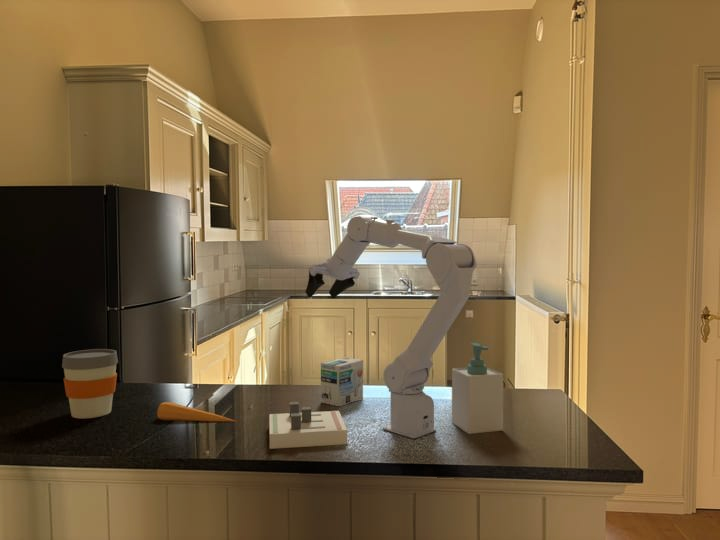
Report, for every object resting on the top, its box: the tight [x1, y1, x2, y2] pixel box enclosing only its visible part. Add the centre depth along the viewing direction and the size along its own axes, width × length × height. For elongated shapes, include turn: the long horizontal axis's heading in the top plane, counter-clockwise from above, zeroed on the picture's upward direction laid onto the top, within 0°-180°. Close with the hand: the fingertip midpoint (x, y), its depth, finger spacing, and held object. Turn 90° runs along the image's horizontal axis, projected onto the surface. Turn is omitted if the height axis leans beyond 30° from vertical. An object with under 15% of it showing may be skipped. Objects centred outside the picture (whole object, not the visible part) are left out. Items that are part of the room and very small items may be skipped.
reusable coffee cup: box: [61, 348, 119, 419], centre depth 138 cm, size 13×13×15 cm
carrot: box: [156, 401, 236, 422], centre depth 133 cm, size 20×4×4 cm, turn 83°
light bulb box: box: [320, 356, 364, 407], centre depth 149 cm, size 11×7×11 cm, turn 143°
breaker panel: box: [268, 401, 348, 450], centre depth 121 cm, size 16×14×6 cm
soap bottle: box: [451, 342, 504, 435], centre depth 127 cm, size 9×9×19 cm
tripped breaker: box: [301, 406, 312, 422], centre depth 121 cm, size 2×2×3 cm
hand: (319, 295), depth 143 cm, fingers open, 7 cm apart
